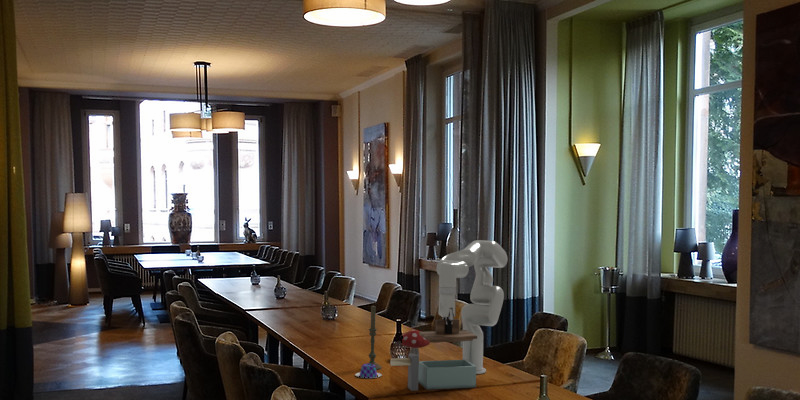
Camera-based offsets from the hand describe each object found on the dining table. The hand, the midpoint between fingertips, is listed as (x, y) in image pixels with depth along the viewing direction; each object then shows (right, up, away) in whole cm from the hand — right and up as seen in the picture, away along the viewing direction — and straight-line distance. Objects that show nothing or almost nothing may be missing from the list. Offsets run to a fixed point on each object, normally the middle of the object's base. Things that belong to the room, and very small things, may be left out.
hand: (447, 332), depth 322 cm
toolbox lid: (0, -3, -1) cm, 3 cm away
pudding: (-35, -22, +12) cm, 43 cm away
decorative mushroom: (-13, -23, +49) cm, 56 cm away
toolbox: (-4, -22, -3) cm, 23 cm away
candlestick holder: (-34, -22, +28) cm, 49 cm away
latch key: (-19, -12, -11) cm, 25 cm away
